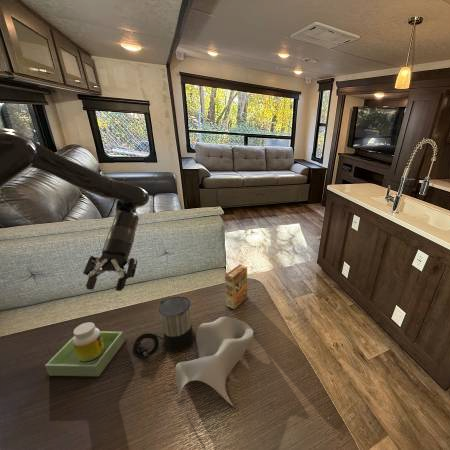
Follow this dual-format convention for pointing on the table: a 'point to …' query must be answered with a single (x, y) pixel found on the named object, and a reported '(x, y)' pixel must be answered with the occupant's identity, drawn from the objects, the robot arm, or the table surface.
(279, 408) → the table surface
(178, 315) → the milk frother
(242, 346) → the sculpture
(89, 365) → the shallow green tray
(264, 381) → the table surface
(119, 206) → the robot arm
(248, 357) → the table surface
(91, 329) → the pill bottle
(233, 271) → the candy box
